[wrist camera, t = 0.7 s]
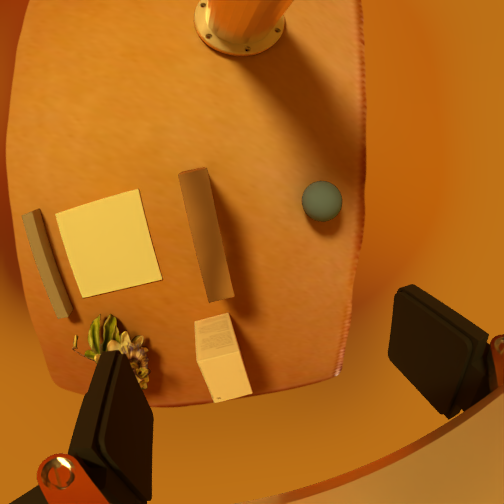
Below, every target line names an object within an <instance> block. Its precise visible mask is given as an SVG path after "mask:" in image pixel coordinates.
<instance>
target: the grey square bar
mask: <svg viewBox="0 0 504 504" xmlns="http://www.w3.org/2000/svg"><path fill="white" fill-rule="evenodd" d="M22 219H23V223H24V226H25V230H26V233H27V237H28V240H29V243H30V247H31V250H32V253H33V256H34V259H35V262H36V265H37V268H38V270H39V273H40V276H41V279H42V281H43V284H44V287H45V289H46V292H47V294H48V297H49V299H50V302H51V304H52V306H53V309H54V311H55V313H56V316H57V318H58V319H60V318H65V317H68V316H69V315H70V313H71V312H72V310H73V307H72V305H71V302H70V300H69V297H68V295H67V292H66V290H65V287H64V284H63V282H62V279H61V276H60V273H59V271H58V268H57V265H56V262H55V259H54V256H53V253H52V250H51V247H50V244H49V240H48V237H47V234H46V230H45V227H44V223H43V219H42V216H41V212H40V209H37V210H34V211H32V212H29V213H27V214H24V215H22Z"/></svg>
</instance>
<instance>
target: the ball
mask: <svg viewBox="0 0 504 504" xmlns="http://www.w3.org/2000/svg"><path fill="white" fill-rule="evenodd" d="M302 205H303V209H304V211H305V212H306V214H307V215H308V216H309V217H310V218H312V219H314V220H316V221H329V220H331V219H333V218H334V217H336V216H337V215H338V213H339V212H340V210H341V207H342V196H341V194H340V192H339V190H338V189H337V187H336V186H334V185H333V184H331V183H329V182H326V181H317V182H314V183H312V184H310V185H309V186H308V187H307V188H306V189H305V191H304V193H303V196H302Z"/></svg>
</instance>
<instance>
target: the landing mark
mask: <svg viewBox="0 0 504 504" xmlns="http://www.w3.org/2000/svg"><path fill="white" fill-rule="evenodd" d="M55 215H56V219H57V223H58V226H59V230H60V233H61V237H62V240H63V243H64V246H65V250H66V253H67V256H68V259H69V262H70V265H71V268H72V271H73V273H74V276H75V279H76V282H77V284H78V287H79V290H80V292H81V295H82V298H85V297H89V296H94V295H98V294H102V293H106V292H111V291H115V290H119V289H124V288H128V287H132V286H137V285H141V284H145V283H149V282H154V281H158V280H162V276H161V273H160V269H159V266H158V262H157V259H156V255H155V252H154V248H153V245H152V241H151V237H150V233H149V230H148V226H147V222H146V218H145V214H144V210H143V206H142V202H141V197H140V193H139V189H135V190H132V191H128V192H124V193H121V194H117V195H114V196H110V197H107V198H104V199H100V200H97V201H94V202H90V203H87V204H84V205H81V206H78V207H75V208H72V209H69V210H66V211H63V212H60V213H57V214H55Z"/></svg>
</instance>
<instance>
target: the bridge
mask: <svg viewBox="0 0 504 504" xmlns="http://www.w3.org/2000/svg"><path fill="white" fill-rule="evenodd" d="M178 176H179V181H180V185H181V190H182V195H183V199H184V204H185V208H186V213H187V217H188V221H189V226H190V230H191V234H192V238H193V242H194V246H195V251H196V255H197V259H198V263H199V267H200V270H201V274H202V278H203V282H204V286H205V290H206V293H207V297H208V301H209V303H210V302H214V301H219V300H223V299H227V298H231V297H235V296H234V292H233V287H232V283H231V278H230V274H229V269H228V265H227V260H226V256H225V251H224V247H223V242H222V237H221V233H220V228H219V223H218V219H217V214H216V209H215V204H214V200H213V195H212V190H211V185H210V180H209V175H208V170H207V168H205V167H202V168H197V169H193V170H188V171H184V172H181V173H180V174H179V175H178Z"/></svg>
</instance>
